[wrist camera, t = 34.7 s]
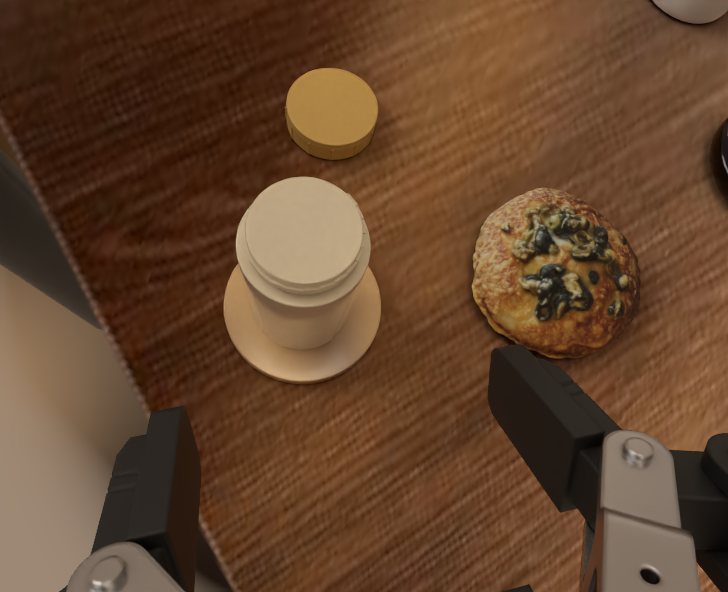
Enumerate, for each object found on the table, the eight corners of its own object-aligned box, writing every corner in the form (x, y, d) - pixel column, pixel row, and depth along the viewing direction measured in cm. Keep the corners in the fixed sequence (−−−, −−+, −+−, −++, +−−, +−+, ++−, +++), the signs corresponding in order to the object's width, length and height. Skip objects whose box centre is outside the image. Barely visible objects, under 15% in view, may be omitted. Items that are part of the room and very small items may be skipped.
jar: (290, 370, 28) (288, 325, 19) (231, 291, 29) (202, 211, 19) (369, 312, 30) (404, 244, 20) (311, 239, 30) (319, 142, 21)
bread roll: (659, 333, 32) (709, 312, 28) (496, 386, 32) (518, 373, 27) (585, 186, 36) (618, 143, 31) (435, 230, 35) (446, 193, 30)
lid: (360, 79, 36) (363, 62, 34) (385, 151, 34) (389, 136, 33) (277, 92, 34) (276, 74, 33) (299, 167, 33) (299, 152, 31)
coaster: (282, 416, 28) (282, 415, 27) (195, 288, 30) (192, 283, 29) (408, 326, 31) (411, 322, 30) (322, 213, 32) (322, 205, 31)
